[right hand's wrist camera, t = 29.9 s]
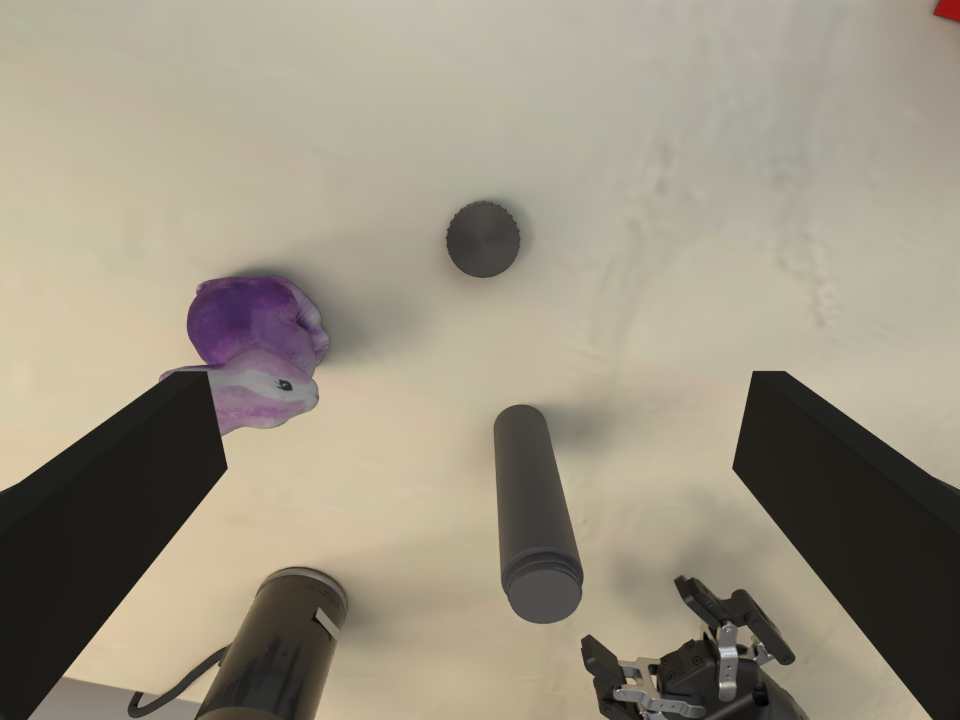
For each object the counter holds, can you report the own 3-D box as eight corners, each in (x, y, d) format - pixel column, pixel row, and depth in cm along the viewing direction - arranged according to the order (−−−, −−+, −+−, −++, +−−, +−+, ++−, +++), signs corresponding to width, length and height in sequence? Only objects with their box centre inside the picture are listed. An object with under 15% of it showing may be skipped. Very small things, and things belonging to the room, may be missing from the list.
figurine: (355, 365, 44) (298, 463, 31) (240, 382, 45) (133, 485, 31) (326, 257, 41) (247, 310, 27) (202, 276, 42) (62, 338, 28)
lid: (521, 270, 42) (522, 275, 40) (451, 277, 42) (450, 282, 40) (516, 197, 40) (517, 199, 38) (442, 204, 40) (441, 206, 38)
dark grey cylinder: (535, 457, 48) (568, 637, 30) (486, 442, 48) (490, 617, 30) (555, 414, 46) (601, 577, 29) (504, 397, 46) (520, 554, 28)
